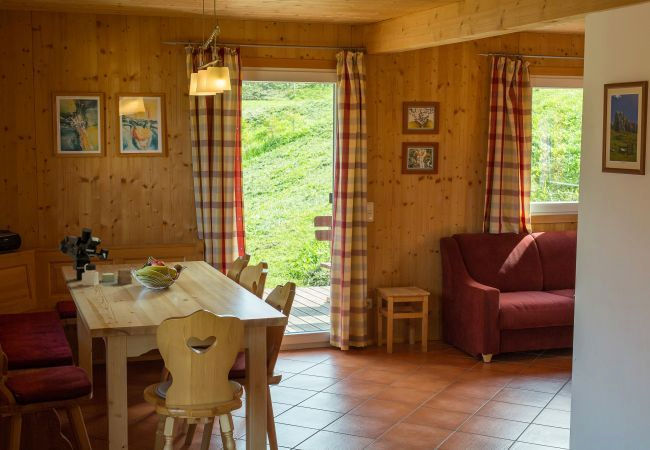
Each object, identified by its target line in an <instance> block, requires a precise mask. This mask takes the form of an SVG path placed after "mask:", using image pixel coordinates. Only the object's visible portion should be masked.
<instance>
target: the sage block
mask: <svg viewBox="0 0 650 450" xmlns="http://www.w3.org/2000/svg"><path fill="white" fill-rule="evenodd" d="M115 279H116V276H115V274H114V273H112V272H110V273H101V280H102V281H103V282H112V281H115Z"/></svg>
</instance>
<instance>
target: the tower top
mask: <svg viewBox="0 0 650 450" xmlns="http://www.w3.org/2000/svg"><path fill="white" fill-rule="evenodd" d="M117 271H118V272H117V274H118V275H117V276H119V277H132V271H131V269H130V268H118V269H117Z"/></svg>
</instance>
